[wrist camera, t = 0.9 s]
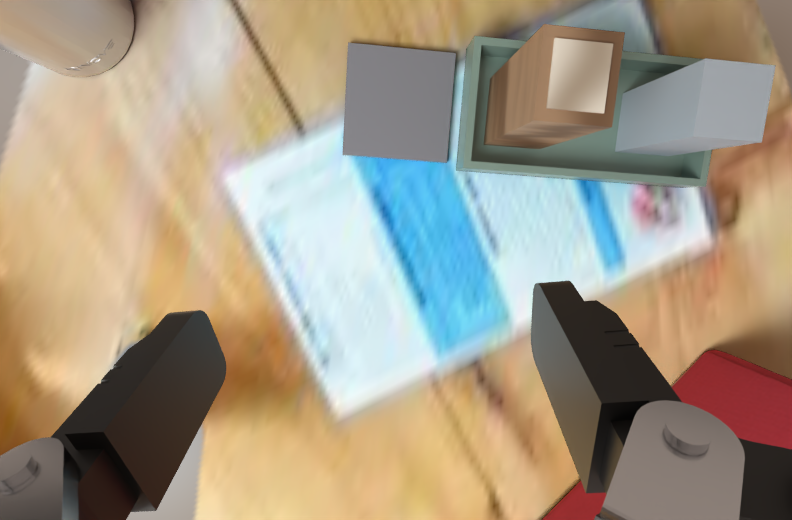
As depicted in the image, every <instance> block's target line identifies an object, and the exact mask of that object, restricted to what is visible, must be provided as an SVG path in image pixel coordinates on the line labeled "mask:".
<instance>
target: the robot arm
mask: <svg viewBox="0 0 792 520" xmlns="http://www.w3.org/2000/svg"><path fill="white" fill-rule="evenodd" d="M133 31H134V14H133V9H132V5H131V2H130V0H0V49H2V50H5V51H7V52H10V53H12V54H14V55H16V56H19V57H21V58H24V59H26V60H29V61H31V62H34V63H36V64H39V65H41V66H44V67H46V68H48V69H51V70H53V71H56V72H58V73H60V74H64V75H68V76H73V77H89V76H93V75H98V74H101V73H103V72H105V71H107V70H109V69H111V68H112V67H113V66H114V65H116V64H117V63H118V62H119V61H120V60H121V59H122V57H123V56H124V55H125V53H126V52H127V50H128V48H129V45H130V43H131V41H132V36H133ZM531 345H532V352H533V357H534V361H535V363H536V366H537V369H538V371H539V374H540V376H541V379H542V382H543V384H544V387H545V389H546V392H547V394H548V397H549V400H550V402H551V405H552V407H553V410H554V412H555V415H556V418H557V420H558V423H559V425H560V428H561V430H562V433H563V436H564V438H565V441H566V443H567V446H568V448H569V451H570V454H571V456H572V459H573V461H574V464H575V467H576V469H577V472H578V474H579V477H580V479H581V482H582V485H583V487H584V490H585V492H586V493H606V498H605V500H604V503H603V506H602V509H601V511H600V513H599V514H597V515H596V516H595V518H594V520H792V449H788V448H783V447H778V446H772V445H767V444H762V443H757V442H752V441H748V440H744V439H741V438H738V437H737V436H736V435H735V434H734V432H733V431H732V430H731V429H730V428H729V427H728V426H727V425H726V424H724V423H723V422H722V421H721V420H719V419H718V418H716V417H715V416H713V415H712V414H710V413H708V412H706V411H704V410H703V409H700V408H698V407H695V406H693V405H689V404H686V403H683V402H682V401H681V400H680V398H679V397H678V396H677V394H676V393H675V391H674V390H673V389H672V387H671V386H670V385H669V383H668V382H667V381H666V379H665V378H664V377H663V375H662V374H661V373H660V371H659V370H658V369H657V367H656V366H655V365H654V363H653V362H652V361H651V359H650V358H649V357H648V355H647V354H646V353H645V351H644V350H643V349H642V347H639V343H638V342H637V341H636V339H635V338H634V337H633V335H632V334H631V333H629V331H628V328H627V327H626V326H625V324H624V323H623V322H622V320H621V319H620V318H619V316H618V315H617V314H616V313H615V312H613V311H612V310H610V309H609V308H607V307H606V306H604V305H603V304H601V303H600V302H598V301H597V300H596V301H583V299H582V298H581V296H580V294H579V293H578V291H577V290H576V288H575V287H574V285H573V284H572V283H571V282H570V281H560V282H548V283H537V284H535V286H534V290H533V307H532V326H531ZM113 367H114V369H112V370H110V371H109V372H108V373H107V374H106V375H105V376H104V377H103V379H102V380H101V384H97V385H96V387H95V388H94V389H93V390H92V391H91V392H90V393H89V395H88V396H87V397H86V398H85V399H84V400H83V401H82V402H81V404H80V405H79V406H78V407H77V408H76V409H75V410H74V412H73V413H72V414H71V415H70V416H69V417H68V418H67V419H66V421H65V422H64V423H63V424H62V425H61V426H60V427H59V429H58V430H57V431H56V432H55V433H54V434H53V435H52V436H51V438H49V437H48V438H40V439H35V440H32V441H29V442H26V443H24V444H22V445H19V446H17V447H15V448H13V449H11V450H10V451H8V452H6V453H5V454H3V455H1V456H0V520H126V519H127V517H128V515H129V514H130V512H139V511H156V510H157V508H158V506H159V504H160V502H161V500H162V498H163V496H164V495H165V493H166V491H167V489H168V487H169V485H170V483H171V481H172V479H173V477H174V476H175V474H176V472H177V470H178V468H179V466H180V464H181V462H182V460H183V458H184V457H185V454H186V453H187V451H188V449H189V447H190V445H191V443H192V441H193V439H194V438H195V436H196V434H197V432H198V430H199V428H200V426H201V424H202V422H203V420H204V419H205V417H206V415H207V413H208V411H209V409H210V407H211V405H212V403H213V401H214V399H215V398H216V396H217V394H218V392H219V390H220V388H221V386H222V384H223V382H224V379H225V375H226V361H225V357H224V355H223V352H222V350H221V347H220V345H219V342H218V340H217V337H216V335H215V332H214V330H213V328H212V325H211V323H210V320H209V318H208V316H207V314H206V313H205V312H203V311H201V310H198V311H186V312H174V313H169V314H167V315H166V316H165V317H164V318H163V319H162V320H161V322H160V323H159V324H158V325H157V326H156V327H155V329H154V330H153V331H152V332H151V333H150V335H148V336H146V337H145V338H143V339H142V340H141V341H139V342H138V343H137V344H135V345H134V346H132V347H131V348H130V349H128V350H127V351H126V353H125V354H124V355H123V356H122V357H121V358H120V359H119V360H118V362H117V363H116V364H115V365H114V366H113Z"/></svg>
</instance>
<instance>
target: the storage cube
mask: <svg viewBox="0 0 792 520" xmlns="http://www.w3.org/2000/svg"><path fill="white" fill-rule="evenodd" d="M671 387H672V389H673V390H674V391H675V393H676V394H677V396H678V397H679V398H680V400H681V401H682V402H683V403H686V404H689V405H693V406H695V407H698V408H700V409H703V410H704V411H706V412H708V413H710V414H712V415H713V416H715V417H716V418H718V419H719V420H721V421H722V422H723V423H724V424H726V425H727V426H728V427H729V428H730V429H731V430H732V431H733V432H734V434H735V435H736V436H737V437H738V438H741V439H744V440H748V441H752V442H757V443H762V444H767V445H772V446H778V447H783V448H788V449H792V379H789V378H787V377H784V376H782V375H779V374H777V373H774V372H772V371H770V370H767V369H765V368H762V367H760V366H758V365H755V364H753V363H750V362H748V361H745V360H743V359H740V358H738V357H735V356H733V355H730V354H728V353H725V352H722V351H718V350H710V351H707V352H705V353H704V354H702V356H701V357H700V358H699V359H698V360H697V361H696V362H695V363H694V364H693V365H692V366H691V367H690V368H689V369H688V370H687V371H686V372H685V373H684V374H683V375H682V376H681V377H680V378H679V379H678V380H677V381H676V382H675V383H674V384H673V385H672V386H671ZM605 498H606V493H586V492H585V490H584V487H583V485H582V482H581V481H580V482H579V483H578V484H577V485H576V486H575V487H574V488H573V489H572V490H571V491H570V492H569V493H568V494H567V495H566V496H565V497H564V498H563V499H562V500H561V501H560V502H559V503H558V504H557V505H556V506H555V507H554V508H553V509H552V510H551V511H550V512H549V513H548V514H547V515H546V516H545V517H544V518H543V519H542V520H594V518H595V516H596V515H597V514H599V513H600V511H601V509H602V506H603V503H604V500H605Z"/></svg>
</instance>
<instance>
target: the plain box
mask: <svg viewBox="0 0 792 520" xmlns="http://www.w3.org/2000/svg"><path fill="white" fill-rule="evenodd" d="M774 72H775V65H765V64H755V63H746V62H736V61H726V60H716V59H703V60H701V61H698V62H696V63H694V64H691V65H689V66H687V67H684V68H682V69H680V70H677V71H675V72H672V73H670V74H668V75H665V76H663V77H661V78H658V79H656V80H654V81H651V82H649V83H646V84H644V85H642V86H639V87H637V88H635V89H632V90H630V91H628V92H625V93H623V96H622V104H621V111H620V118H619V126H618V133H617V140H616V148H615V152H622V153H634V154H646V155H659V156H673V155H680V154H686V153H693V152H700V151H706V150H713V149H719V148H726V147H733V146H739V145H746V144H753V143H759V142H762V138H763V132H764V127H765V121H766V116H767V110H768V105H769V99H770V94H771V88H772V83H773V77H774Z"/></svg>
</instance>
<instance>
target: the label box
mask: <svg viewBox="0 0 792 520" xmlns="http://www.w3.org/2000/svg"><path fill="white" fill-rule="evenodd" d="M624 35H625V33H624V32H614V31H605V30H595V29H586V28H576V27H567V26H557V25H548V24H544V25H543V26H542V27H541V28H540V29H539V30H538V31H537V32H536V33H535V34H534V35H533V36H532V37H531V38H530V39H529V40H528V41H527V42H526V43H525V44H524V45H523V46H522V47H521V48H520V49H519V50H518V51H517V52H516V53H515V54H514V55H513V56H512V57H511V58H510V59H509V60H508V61H507V62H506V63H505V64H504V65H503V66H502V67H501V68H500V69H499V70H498V71H497V72H496V73H495V74H494V75H493V76H492V77H491V78H490V83H489V93H488V104H487V115H486V125H485V136H484V145H493V146H505V147H517V148H530V149H542V148H545V147H548V146H552V145H555V144H558V143H562V142H565V141H568V140H571V139H575V138H578V137H581V136H585V135H588V134H591V133H594V132H598V131H601V130H604V129H608V128H611V127H612V124H613V117H614V109H615V102H616V94H617V87H618V79H619V72H620V64H621V57H622V50H623V42H624Z"/></svg>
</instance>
